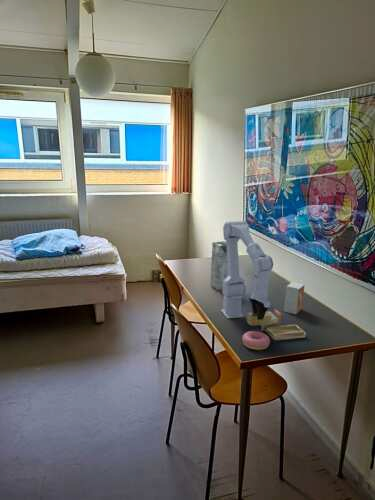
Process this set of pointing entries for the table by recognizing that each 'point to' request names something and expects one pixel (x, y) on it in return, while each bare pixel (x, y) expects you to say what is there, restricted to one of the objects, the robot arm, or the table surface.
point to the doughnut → (256, 340)
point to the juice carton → (219, 264)
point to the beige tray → (285, 332)
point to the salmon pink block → (277, 316)
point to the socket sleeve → (273, 322)
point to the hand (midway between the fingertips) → (258, 316)
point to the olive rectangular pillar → (253, 320)
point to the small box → (294, 298)
